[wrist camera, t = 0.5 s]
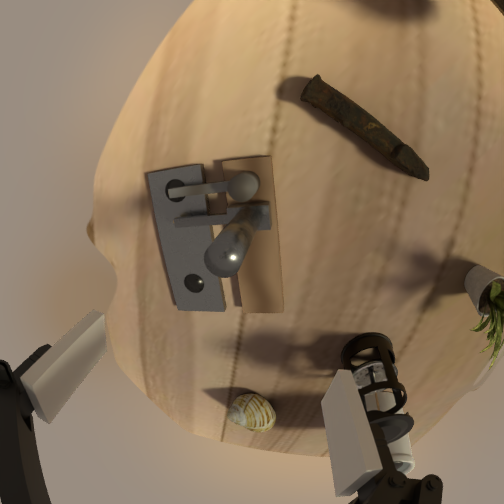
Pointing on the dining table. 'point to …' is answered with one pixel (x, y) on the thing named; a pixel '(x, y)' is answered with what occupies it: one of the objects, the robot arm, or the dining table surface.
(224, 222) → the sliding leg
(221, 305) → the bolt plate
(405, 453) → the utensil holder
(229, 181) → the grey lever handle base
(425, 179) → the hand tool
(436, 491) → the robot arm
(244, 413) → the seashell
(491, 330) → the house plant
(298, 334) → the dining table surface
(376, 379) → the french press
